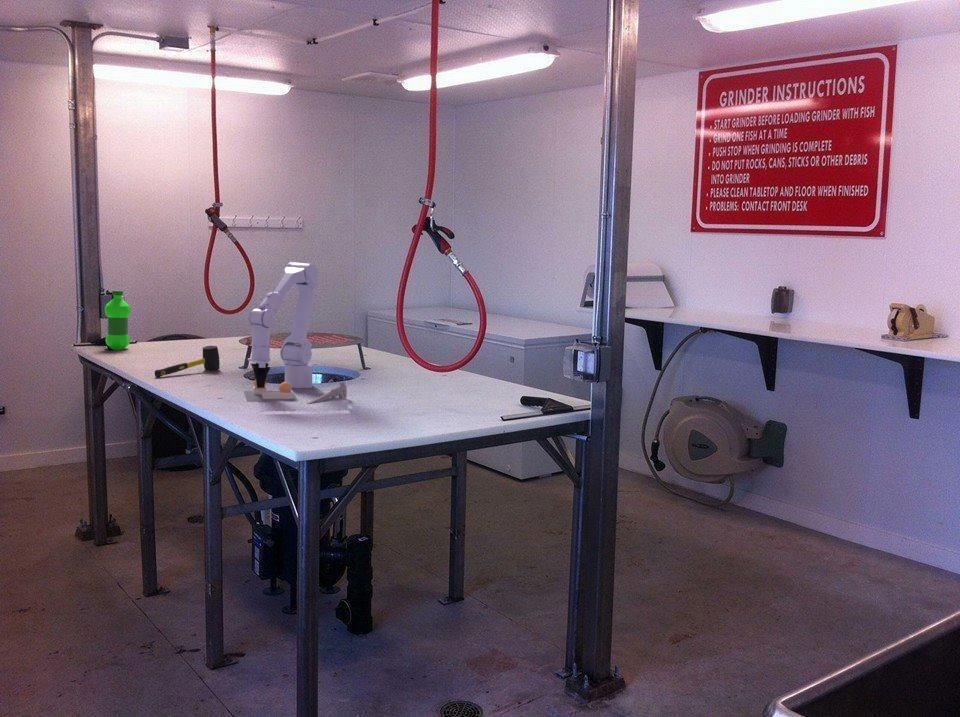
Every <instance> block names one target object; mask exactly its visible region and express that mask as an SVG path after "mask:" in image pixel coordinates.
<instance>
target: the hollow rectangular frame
mask: <svg viewBox="0 0 960 717" xmlns="http://www.w3.org/2000/svg"><path fill="white" fill-rule="evenodd" d="M294 395H295V393H294V391H293V389H292V390H291V392H285V393H281V392H280V390H279V389H277V390H276V389H275V390H274V389H273V390H268V389H267V390H262V398H263V399H293V398H294Z"/></svg>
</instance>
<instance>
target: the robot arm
mask: <svg viewBox="0 0 960 717" xmlns="http://www.w3.org/2000/svg"><path fill="white" fill-rule="evenodd" d="M283 270H284V275H283V277H282V278H281V279H280V281H279V283H278V285H277V286H276V287H275V289H274V291H270V292H268V293H267V294H266V296H265V297H264V299H263V300H262V301H261V303H260V304H259V306H258V307H257V308H254V309H253V310H251V312H250V313H249V315H248V318H247V321H248V323H249V324H250V330H251V357H249V358H247V361H248V362H251V363H250V365H251V367H252V371H253V374H254V380H255V379H256V383H257V387H258V388H264V386H265V381H266V382H267V376H268V374H269V371H270V369H271V367H270V366H269V362H271V358H270V356H271V355H270V354H271V352H270V350H271V349H270V348H271V346H270V345H271V344H270V343H271V327H272V325H274V322H275V318H276V316H277V312H278V311H279V309H280V308H281V307H282V305H283V304H284V297H285V296H286V294H288V293H289V292H290V291H291V289H292V288H293V287H295V288H297V290H298V296H297V300H296V304H295V305H296V306H295V311H294V317H293V322H292V328H291V333H290V335H288V336H287V337H286V338H285V339H283V344H282V346H281V348H280V351H279V356H280V359H281V360H282V361H283V362H282V363H283V364H284V382H288V383H290V384H291V386H292V389H304V388H305V389H310V388H311V389H312V388H313V365H312V364H311V363H310V361H311V359H312V354H313V353H312V352H313V351H312V347H313V343H311V341H310V340H309V339H308V337H307V336H308V331H309V330H308V329H309V324H310V320H311V315H312V309H313V303H314V298H315V293H316V288H317V284H318V278H319V275H320V274H319V273H320V272H319V269H318V267H317V266H316V264H315V263H312V262H311V263H307V262H306V263H305V262H295V261H289V263H287V265H286V266H285V268H284V269H283Z"/></svg>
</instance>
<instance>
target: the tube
mask: <svg viewBox="0 0 960 717" xmlns="http://www.w3.org/2000/svg"><path fill="white" fill-rule="evenodd" d="M262 390H268V387H267V385H266V386H265V388H256V387H255V386H254V385H253V386H252V391H253V394H262Z"/></svg>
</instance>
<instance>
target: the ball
mask: <svg viewBox="0 0 960 717" xmlns="http://www.w3.org/2000/svg"><path fill="white" fill-rule="evenodd" d="M253 386H255V387H256V388H258V387H257V383H256V379H255V378H254V381H253ZM265 386H266V387H267V380H266V381H265ZM265 386H264V388H265Z"/></svg>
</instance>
